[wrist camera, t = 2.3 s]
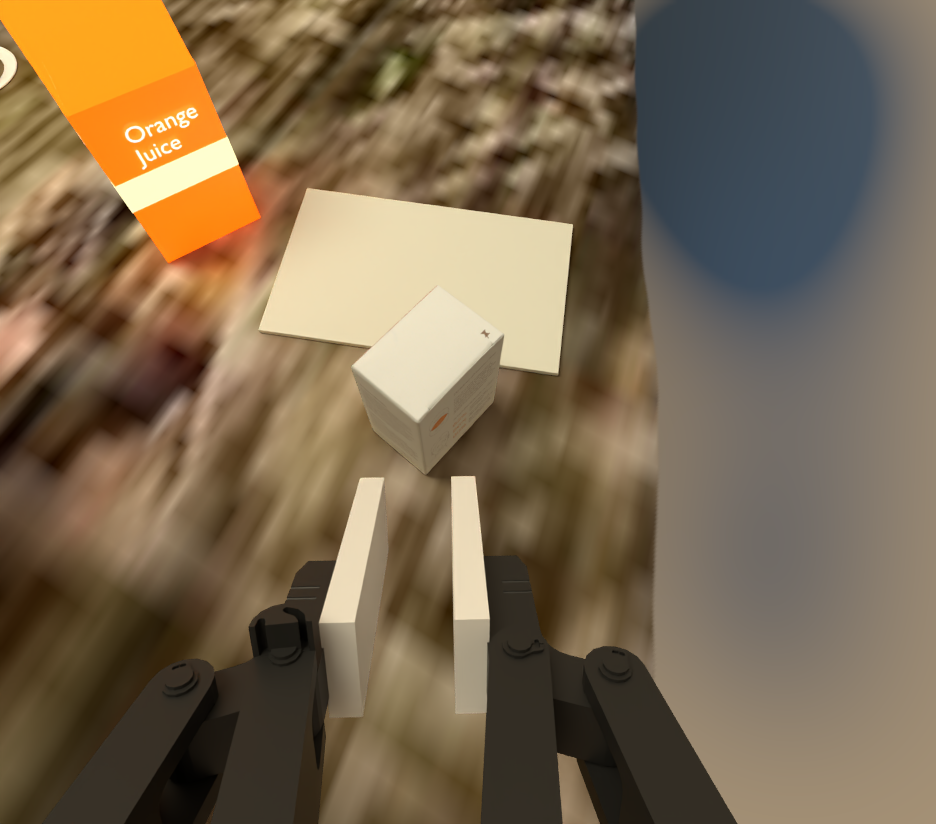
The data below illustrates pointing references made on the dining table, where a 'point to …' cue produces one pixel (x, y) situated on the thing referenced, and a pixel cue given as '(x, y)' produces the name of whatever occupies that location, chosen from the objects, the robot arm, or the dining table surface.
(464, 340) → the small box
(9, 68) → the teacup and saucer
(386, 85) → the dining table surface
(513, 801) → the robot arm
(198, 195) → the orange juice
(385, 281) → the mat
